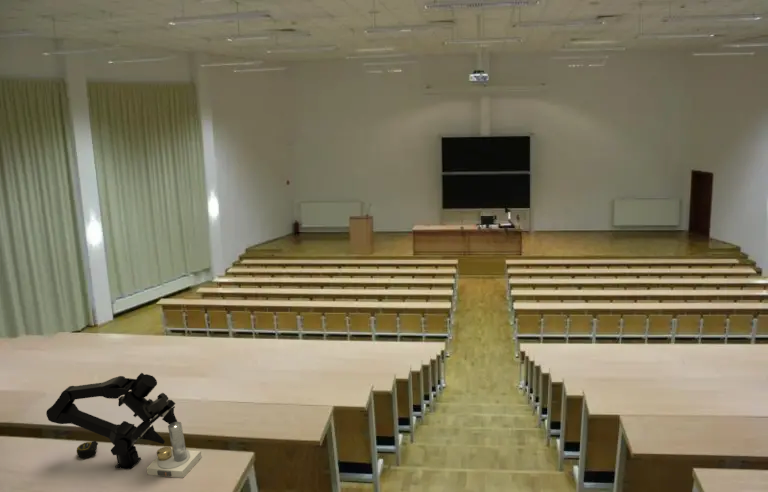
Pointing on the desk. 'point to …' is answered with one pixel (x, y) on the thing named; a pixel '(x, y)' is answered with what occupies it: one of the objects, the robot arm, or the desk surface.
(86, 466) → the desk surface
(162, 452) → the brass weight
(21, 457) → the desk surface
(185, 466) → the scale
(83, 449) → the tape measure
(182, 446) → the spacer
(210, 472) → the desk surface
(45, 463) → the desk surface
